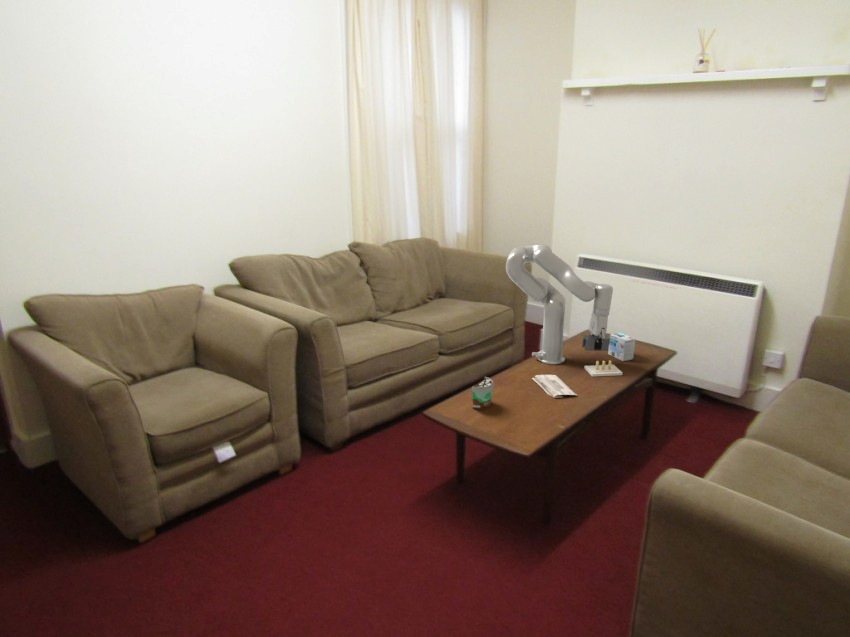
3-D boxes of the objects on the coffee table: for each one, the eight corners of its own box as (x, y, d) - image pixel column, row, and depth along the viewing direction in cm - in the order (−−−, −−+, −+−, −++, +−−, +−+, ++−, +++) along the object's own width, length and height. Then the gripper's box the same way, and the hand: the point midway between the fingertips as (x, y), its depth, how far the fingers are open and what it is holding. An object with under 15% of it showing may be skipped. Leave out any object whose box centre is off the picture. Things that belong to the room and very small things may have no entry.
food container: (485, 413, 222) (485, 390, 219) (471, 409, 225) (471, 386, 222) (498, 401, 232) (499, 379, 229) (484, 398, 235) (485, 376, 232)
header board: (592, 376, 255) (593, 365, 254) (584, 368, 265) (585, 357, 263) (622, 375, 257) (623, 364, 255) (613, 366, 266) (614, 356, 265)
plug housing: (585, 350, 265) (587, 338, 263) (581, 346, 270) (583, 334, 268) (607, 350, 266) (609, 339, 264) (603, 347, 271) (605, 335, 269)
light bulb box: (607, 354, 282) (609, 333, 278) (618, 352, 284) (620, 332, 281) (623, 361, 272) (625, 340, 269) (633, 359, 275) (636, 338, 272)
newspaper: (530, 379, 254) (531, 374, 254) (556, 380, 257) (556, 374, 256) (550, 400, 233) (551, 395, 232) (577, 401, 236) (578, 395, 235)
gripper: (586, 305, 270) (581, 340, 275) (600, 316, 254) (594, 354, 259) (601, 305, 270) (595, 341, 276) (616, 316, 254) (610, 354, 260)
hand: (595, 346), depth 268 cm, fingers closed on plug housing, 5 cm apart
